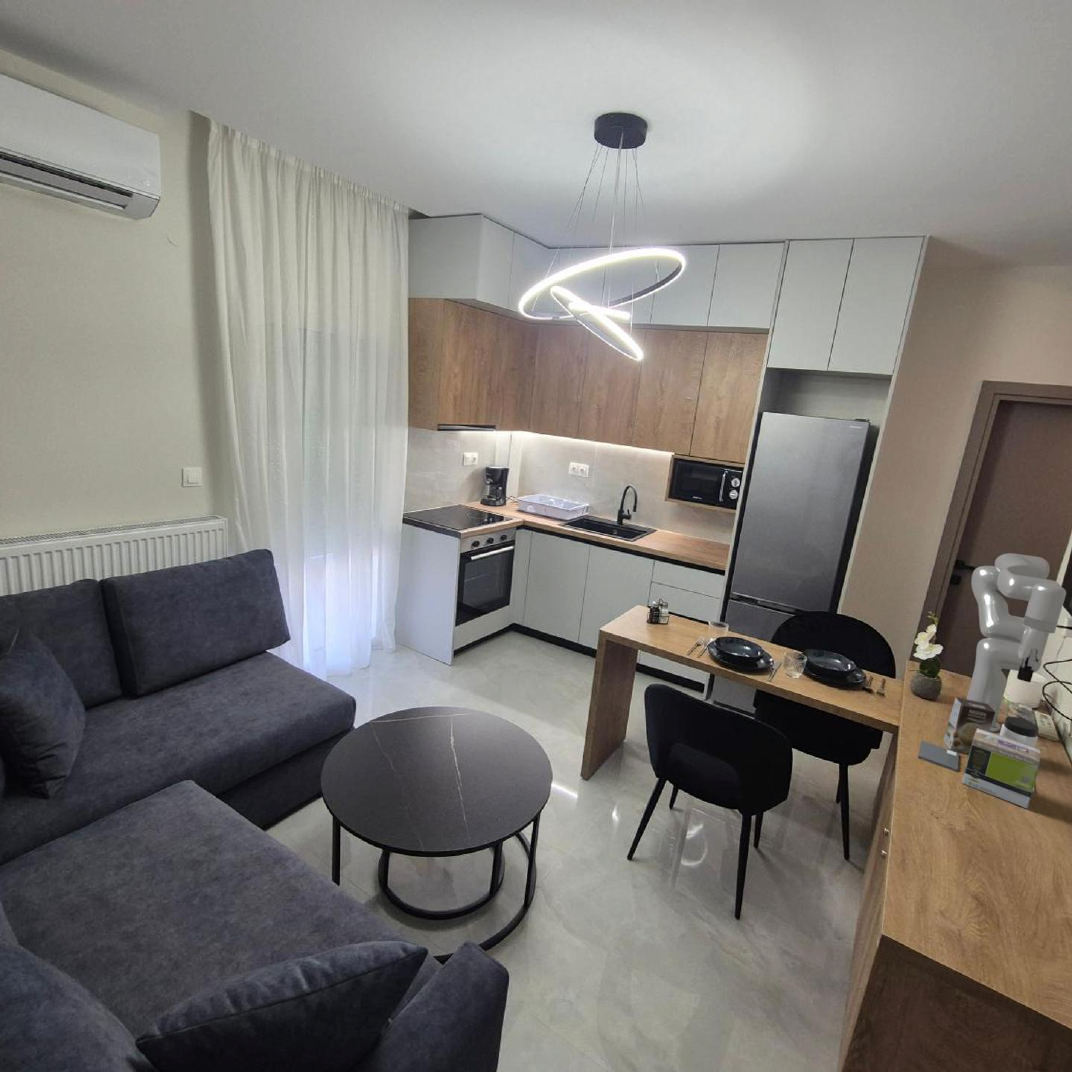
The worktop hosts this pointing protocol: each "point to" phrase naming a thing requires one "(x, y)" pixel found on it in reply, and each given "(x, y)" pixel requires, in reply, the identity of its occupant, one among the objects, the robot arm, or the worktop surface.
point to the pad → (939, 755)
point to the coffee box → (967, 723)
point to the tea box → (1002, 767)
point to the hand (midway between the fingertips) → (1023, 679)
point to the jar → (1020, 730)
